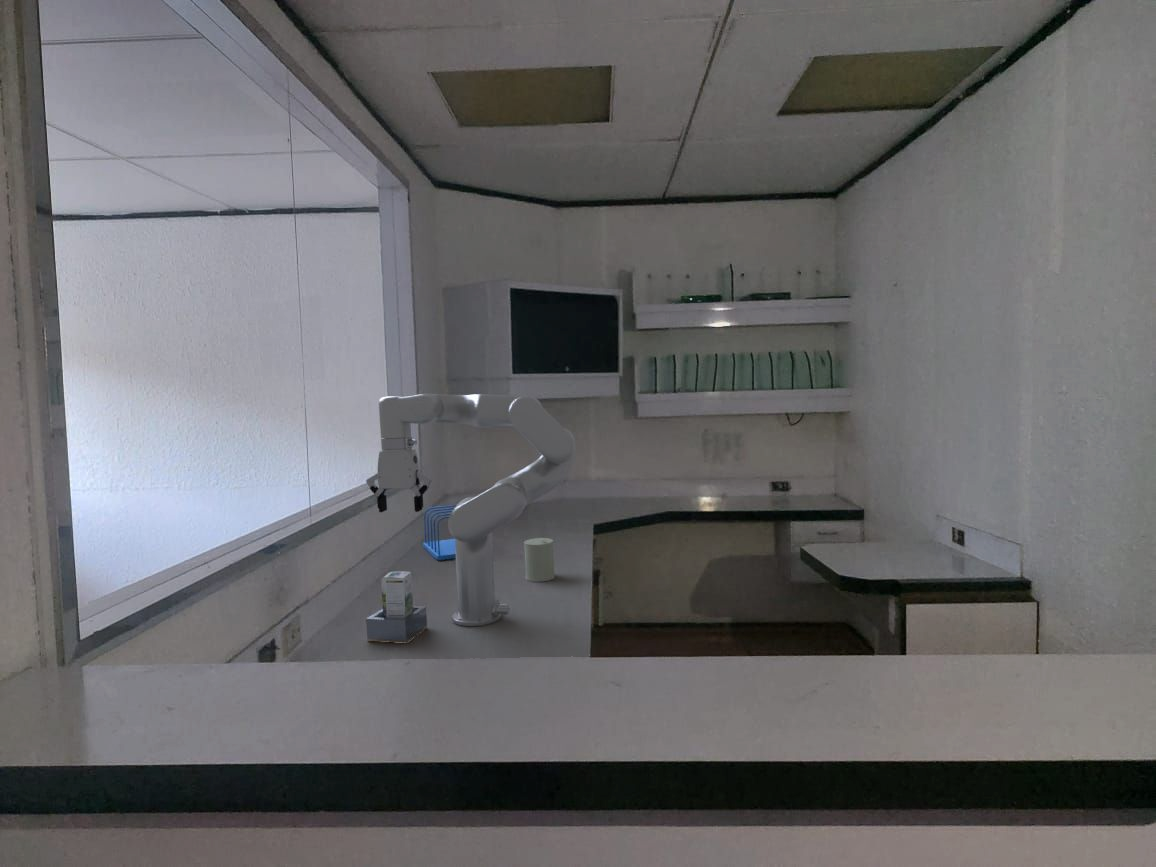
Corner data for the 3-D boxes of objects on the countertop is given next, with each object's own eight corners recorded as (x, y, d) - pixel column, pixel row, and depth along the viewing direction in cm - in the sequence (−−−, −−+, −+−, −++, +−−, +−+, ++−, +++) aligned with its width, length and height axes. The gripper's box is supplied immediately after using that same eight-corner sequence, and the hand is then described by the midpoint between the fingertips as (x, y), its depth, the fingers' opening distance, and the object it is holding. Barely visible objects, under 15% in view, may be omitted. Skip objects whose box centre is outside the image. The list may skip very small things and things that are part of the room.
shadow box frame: (427, 628, 169) (425, 606, 169) (406, 644, 159) (405, 620, 159) (390, 626, 172) (388, 604, 171) (367, 641, 162) (366, 618, 161)
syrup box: (391, 628, 168) (388, 571, 167) (414, 627, 168) (411, 570, 167) (383, 636, 163) (380, 577, 162) (407, 636, 162) (404, 577, 161)
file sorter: (485, 555, 242) (483, 513, 241) (437, 562, 235) (435, 518, 234) (467, 541, 265) (465, 503, 264) (422, 547, 258) (420, 507, 257)
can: (539, 583, 204) (538, 544, 203) (519, 578, 210) (517, 540, 209) (561, 576, 211) (559, 538, 210) (540, 571, 217) (538, 535, 216)
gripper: (434, 442, 174) (438, 508, 175) (371, 444, 177) (376, 508, 178) (423, 445, 166) (427, 513, 167) (357, 447, 169) (362, 514, 170)
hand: (400, 511), depth 173 cm, fingers open, 9 cm apart
